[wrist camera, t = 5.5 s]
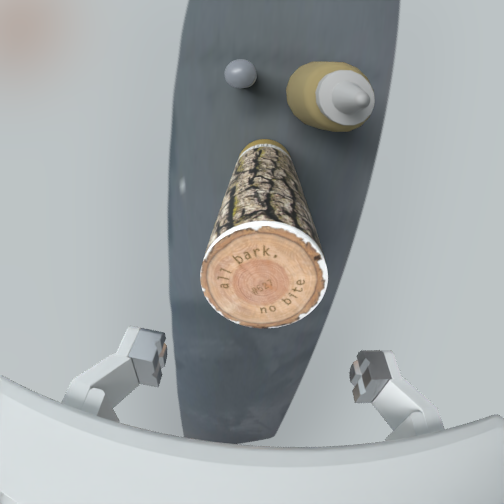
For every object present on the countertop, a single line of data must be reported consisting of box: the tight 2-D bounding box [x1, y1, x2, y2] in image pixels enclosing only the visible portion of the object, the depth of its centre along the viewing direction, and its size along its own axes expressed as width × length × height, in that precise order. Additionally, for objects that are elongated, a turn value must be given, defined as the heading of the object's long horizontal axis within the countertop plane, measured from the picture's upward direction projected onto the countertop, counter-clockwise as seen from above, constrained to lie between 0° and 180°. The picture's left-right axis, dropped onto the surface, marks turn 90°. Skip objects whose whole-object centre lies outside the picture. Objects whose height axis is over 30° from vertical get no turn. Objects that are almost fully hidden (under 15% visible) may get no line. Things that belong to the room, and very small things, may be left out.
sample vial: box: [225, 59, 257, 88], centre depth 28 cm, size 3×3×6 cm
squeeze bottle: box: [286, 62, 375, 132], centre depth 24 cm, size 8×8×18 cm
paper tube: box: [200, 139, 328, 328], centre depth 26 cm, size 7×7×25 cm
